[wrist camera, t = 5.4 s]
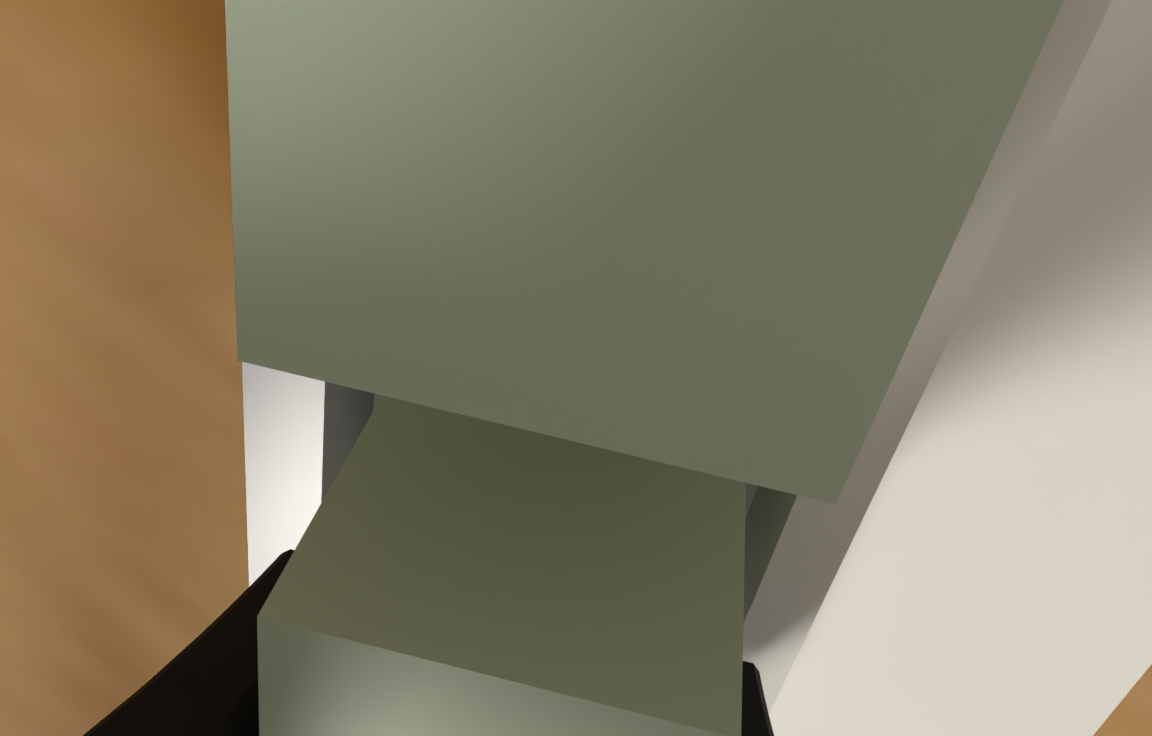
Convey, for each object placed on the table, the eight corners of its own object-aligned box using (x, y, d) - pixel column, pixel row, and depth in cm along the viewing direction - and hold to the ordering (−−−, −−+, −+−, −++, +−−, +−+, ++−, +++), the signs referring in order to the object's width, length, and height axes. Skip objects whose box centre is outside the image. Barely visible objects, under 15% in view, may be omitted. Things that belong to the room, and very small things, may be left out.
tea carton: (632, 672, 16) (576, 1086, 11) (405, 615, 16) (251, 1001, 11) (748, 329, 12) (740, 738, 7) (447, 257, 12) (238, 611, 7)
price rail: (476, -1135, 6) (379, -1432, 5) (346, 813, 20) (309, 910, 18) (309, -1168, 6) (153, -1475, 5) (292, 799, 20) (250, 894, 18)
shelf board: (2116, -713, 7) (2930, -976, 4) (903, 898, 21) (924, 1069, 18) (389, -1042, 7) (183, -1465, 5) (321, 751, 21) (259, 897, 18)
